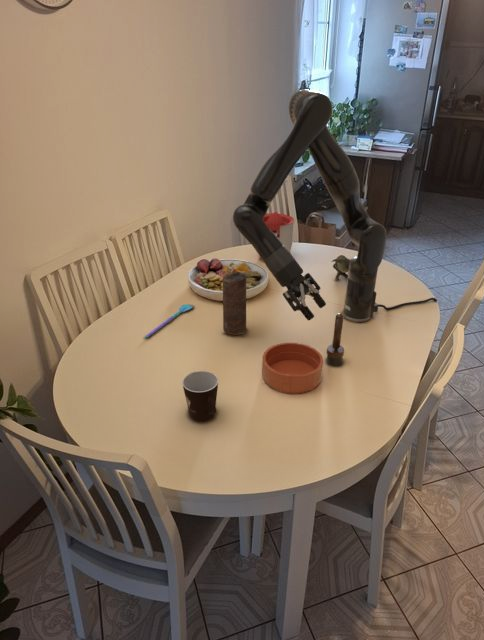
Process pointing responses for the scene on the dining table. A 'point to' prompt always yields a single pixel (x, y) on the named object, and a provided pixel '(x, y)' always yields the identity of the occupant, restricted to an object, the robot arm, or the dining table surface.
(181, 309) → the spoon
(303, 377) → the basin
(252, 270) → the bowl
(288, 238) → the citrus juicer
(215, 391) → the coffee mug
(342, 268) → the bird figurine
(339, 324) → the tamper
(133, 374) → the dining table surface
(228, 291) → the candle
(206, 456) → the dining table surface
